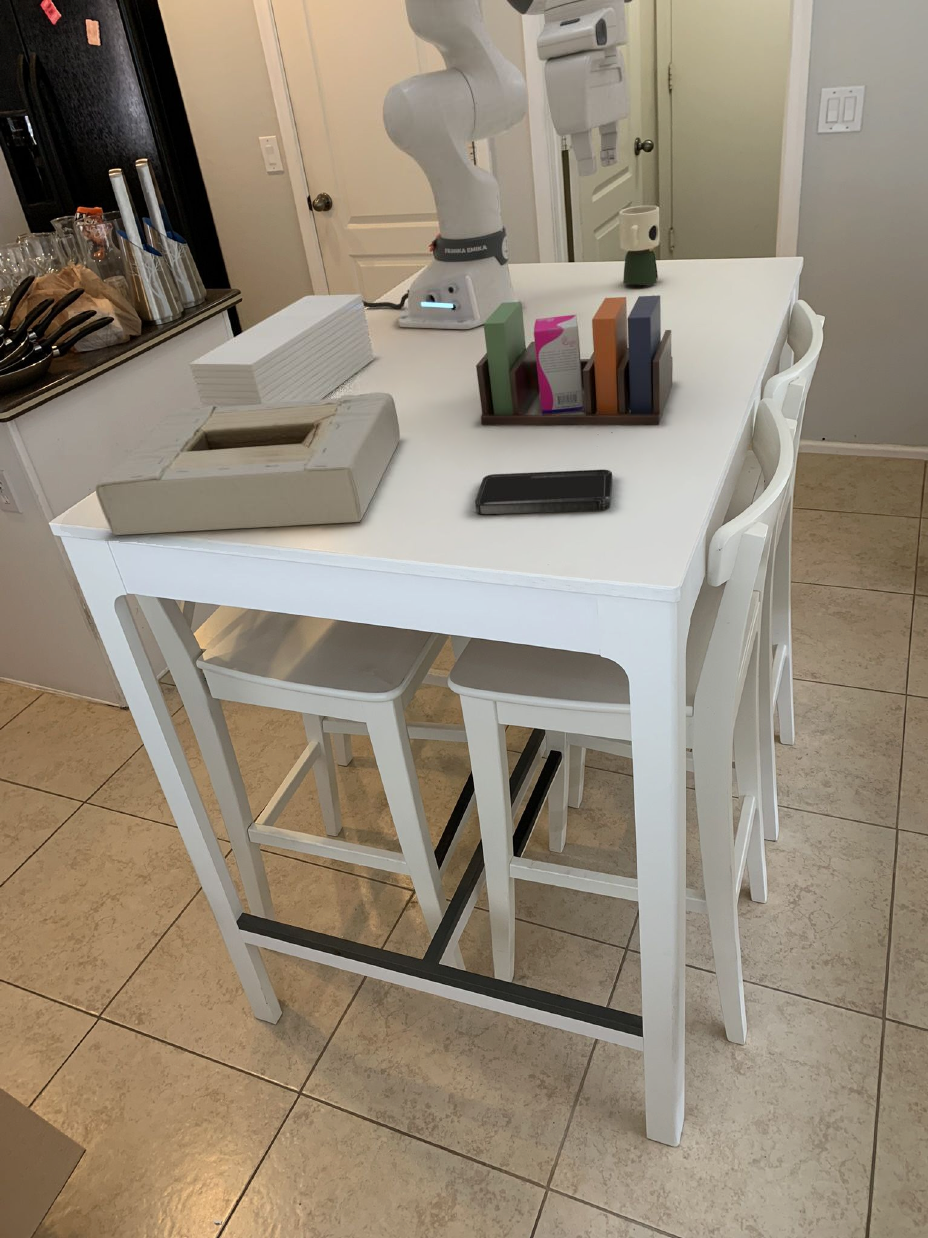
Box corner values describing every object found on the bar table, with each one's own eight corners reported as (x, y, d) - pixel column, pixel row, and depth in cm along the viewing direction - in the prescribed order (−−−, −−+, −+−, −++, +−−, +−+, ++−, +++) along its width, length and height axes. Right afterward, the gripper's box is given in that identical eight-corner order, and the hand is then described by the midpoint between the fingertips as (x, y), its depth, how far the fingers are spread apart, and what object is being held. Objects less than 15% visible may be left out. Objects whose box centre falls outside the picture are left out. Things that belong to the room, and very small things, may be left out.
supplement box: (583, 395, 127) (578, 312, 121) (583, 411, 122) (578, 326, 116) (541, 398, 128) (534, 317, 122) (540, 415, 123) (533, 331, 117)
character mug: (653, 292, 163) (652, 215, 156) (615, 293, 166) (612, 217, 159) (665, 275, 172) (665, 201, 164) (628, 276, 174) (626, 203, 167)
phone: (609, 500, 98) (473, 505, 101) (609, 510, 98) (474, 514, 102) (612, 468, 104) (484, 473, 107) (613, 477, 105) (485, 482, 108)
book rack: (481, 425, 123) (474, 367, 119) (508, 387, 134) (502, 333, 129) (659, 424, 115) (658, 363, 111) (672, 384, 126) (672, 327, 121)
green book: (494, 418, 124) (483, 323, 117) (511, 393, 131) (501, 302, 124) (514, 418, 123) (503, 322, 116) (530, 393, 130) (521, 301, 123)
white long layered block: (320, 358, 157) (306, 295, 151) (374, 359, 153) (361, 293, 147) (211, 434, 134) (189, 363, 128) (270, 437, 129) (251, 364, 123)
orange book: (597, 417, 120) (591, 319, 113) (609, 392, 127) (605, 297, 119) (618, 417, 119) (614, 318, 112) (629, 391, 126) (626, 296, 119)
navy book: (630, 417, 118) (627, 317, 111) (640, 391, 125) (638, 296, 118) (652, 417, 118) (650, 316, 110) (661, 391, 124) (660, 295, 117)
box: (402, 440, 123) (182, 455, 128) (393, 385, 118) (165, 403, 124) (367, 526, 104) (111, 539, 109) (354, 465, 100) (88, 482, 105)
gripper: (585, 39, 111) (597, 163, 117) (530, 41, 95) (547, 185, 101) (636, 27, 108) (645, 155, 115) (588, 28, 92) (602, 176, 99)
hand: (599, 169), depth 108 cm, fingers open, 8 cm apart
